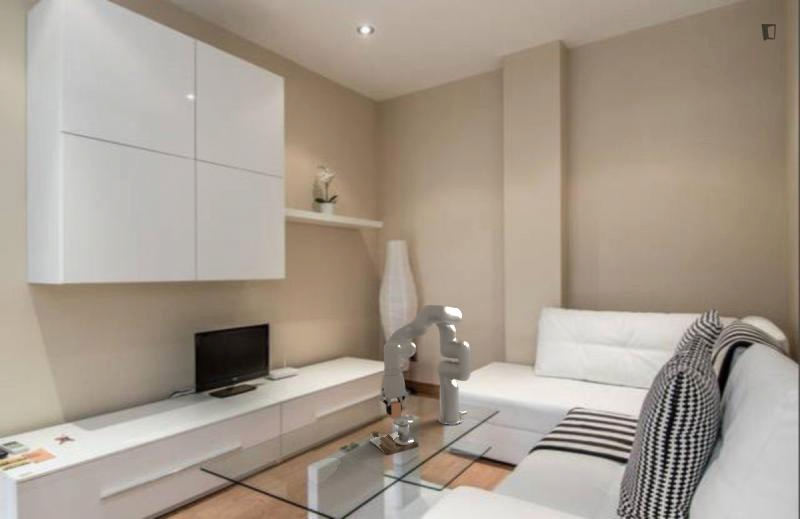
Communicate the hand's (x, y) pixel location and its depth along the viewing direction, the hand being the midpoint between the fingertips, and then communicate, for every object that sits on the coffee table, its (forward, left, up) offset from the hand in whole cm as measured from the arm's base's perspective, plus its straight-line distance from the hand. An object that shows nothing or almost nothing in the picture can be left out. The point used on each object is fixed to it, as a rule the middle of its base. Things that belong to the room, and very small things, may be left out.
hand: (394, 412), depth 196 cm
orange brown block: (0, 0, -2) cm, 2 cm away
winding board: (-4, -9, -18) cm, 20 cm away
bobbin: (-7, -5, -16) cm, 18 cm away
